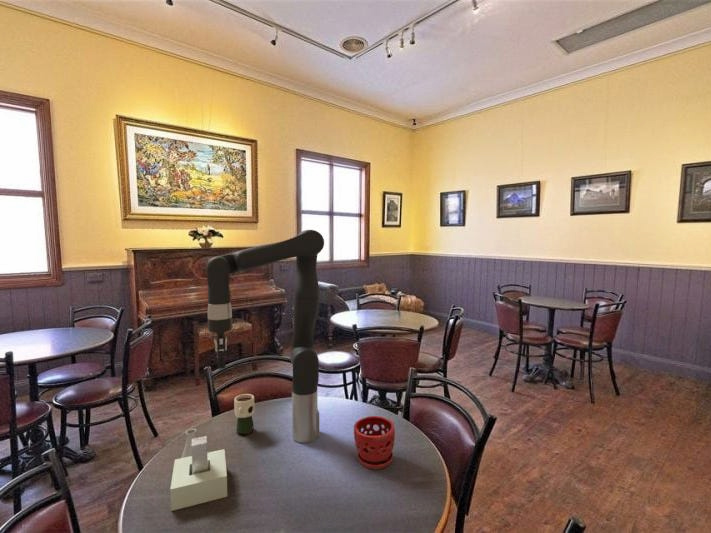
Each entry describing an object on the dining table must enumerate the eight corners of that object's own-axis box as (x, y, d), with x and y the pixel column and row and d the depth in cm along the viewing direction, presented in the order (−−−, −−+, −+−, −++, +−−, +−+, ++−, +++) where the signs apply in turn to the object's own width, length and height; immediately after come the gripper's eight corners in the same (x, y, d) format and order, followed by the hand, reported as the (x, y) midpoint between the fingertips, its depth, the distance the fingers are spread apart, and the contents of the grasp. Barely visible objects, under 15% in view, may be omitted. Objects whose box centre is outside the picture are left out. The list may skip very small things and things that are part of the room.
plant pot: (365, 445, 125) (365, 411, 124) (400, 455, 118) (400, 420, 118) (346, 465, 113) (346, 429, 112) (384, 478, 107) (384, 440, 106)
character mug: (249, 439, 128) (249, 404, 128) (230, 439, 129) (229, 404, 128) (258, 424, 139) (258, 391, 138) (240, 423, 139) (240, 391, 139)
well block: (225, 467, 112) (224, 449, 112) (227, 496, 100) (226, 475, 99) (175, 478, 107) (174, 459, 107) (171, 511, 94) (170, 489, 94)
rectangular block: (208, 481, 106) (206, 435, 105) (208, 489, 102) (207, 442, 101) (193, 485, 104) (191, 438, 103) (193, 493, 101) (191, 446, 100)
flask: (194, 469, 112) (193, 438, 111) (174, 466, 113) (173, 435, 112) (208, 455, 119) (207, 426, 118) (189, 453, 120) (188, 424, 120)
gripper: (233, 319, 113) (234, 369, 114) (230, 311, 127) (231, 356, 128) (207, 321, 111) (209, 372, 112) (207, 313, 124) (209, 359, 125)
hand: (221, 364), depth 120 cm, fingers open, 8 cm apart
